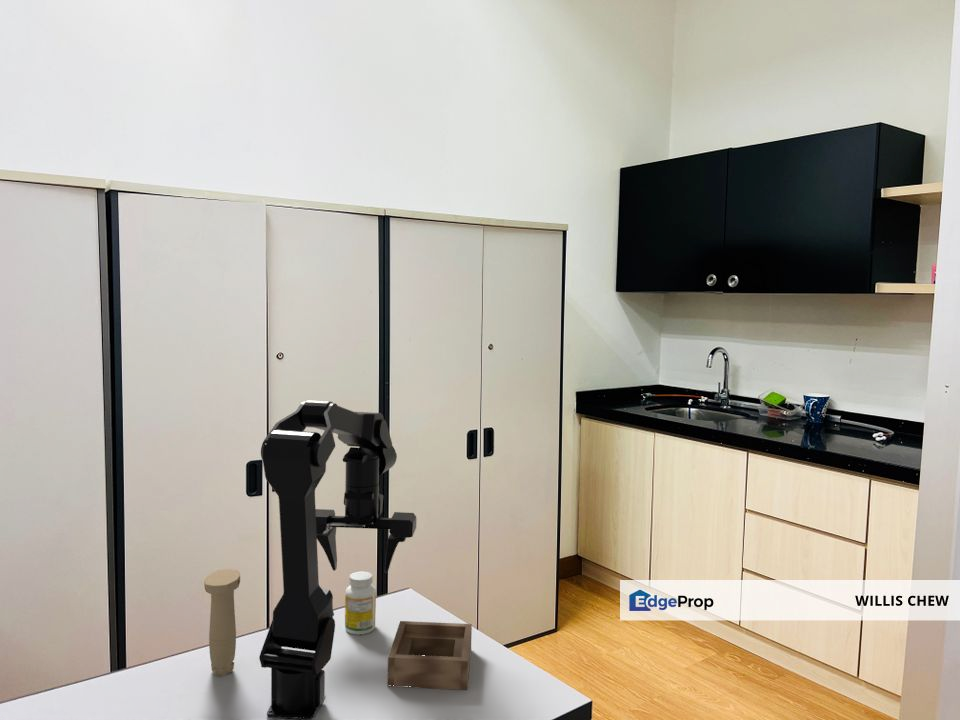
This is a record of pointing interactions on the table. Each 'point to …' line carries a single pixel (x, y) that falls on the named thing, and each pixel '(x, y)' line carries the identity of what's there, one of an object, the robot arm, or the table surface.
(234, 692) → the table surface
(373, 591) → the supplement bottle
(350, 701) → the table surface
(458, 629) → the walnut box
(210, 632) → the handle
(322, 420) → the robot arm
